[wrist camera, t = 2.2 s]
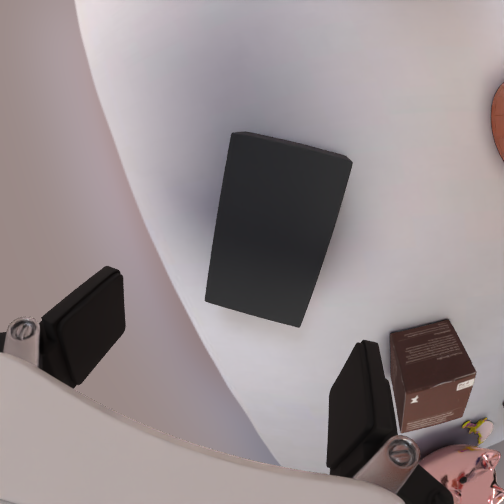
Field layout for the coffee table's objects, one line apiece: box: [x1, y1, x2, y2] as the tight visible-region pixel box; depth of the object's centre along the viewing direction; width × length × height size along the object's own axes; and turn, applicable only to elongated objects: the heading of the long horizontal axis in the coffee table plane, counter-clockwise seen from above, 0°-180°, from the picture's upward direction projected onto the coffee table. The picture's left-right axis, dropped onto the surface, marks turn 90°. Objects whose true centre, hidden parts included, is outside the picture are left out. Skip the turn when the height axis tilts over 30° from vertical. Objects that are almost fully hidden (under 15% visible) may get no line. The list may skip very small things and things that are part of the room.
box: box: [390, 319, 476, 433], centre depth 20 cm, size 6×6×7 cm
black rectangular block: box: [205, 132, 353, 328], centre depth 20 cm, size 12×7×4 cm, turn 169°
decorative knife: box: [462, 418, 493, 446], centre depth 27 cm, size 12×1×5 cm
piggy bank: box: [418, 444, 504, 504], centre depth 22 cm, size 15×18×16 cm
